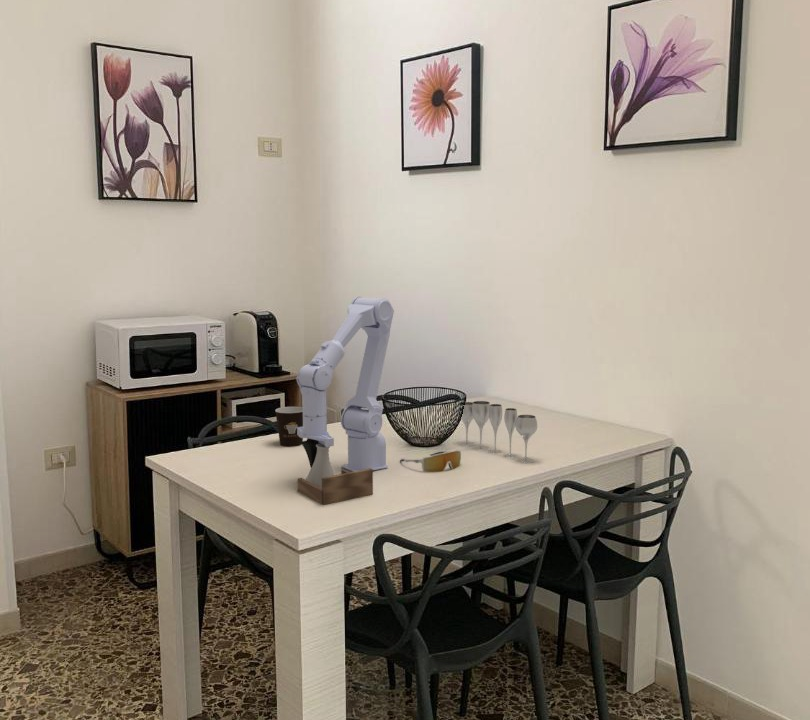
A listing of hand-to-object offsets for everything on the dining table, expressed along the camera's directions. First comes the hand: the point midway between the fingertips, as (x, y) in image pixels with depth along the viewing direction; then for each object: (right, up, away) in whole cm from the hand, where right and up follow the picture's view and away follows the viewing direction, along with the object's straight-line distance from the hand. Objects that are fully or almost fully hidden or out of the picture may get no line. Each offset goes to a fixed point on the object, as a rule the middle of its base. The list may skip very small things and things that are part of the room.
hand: (315, 469), depth 201 cm
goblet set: (+47, +1, +29) cm, 55 cm away
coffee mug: (-10, +2, +38) cm, 39 cm away
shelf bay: (+5, -5, -6) cm, 9 cm away
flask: (+1, -3, -1) cm, 4 cm away
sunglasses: (+29, -1, +17) cm, 33 cm away
